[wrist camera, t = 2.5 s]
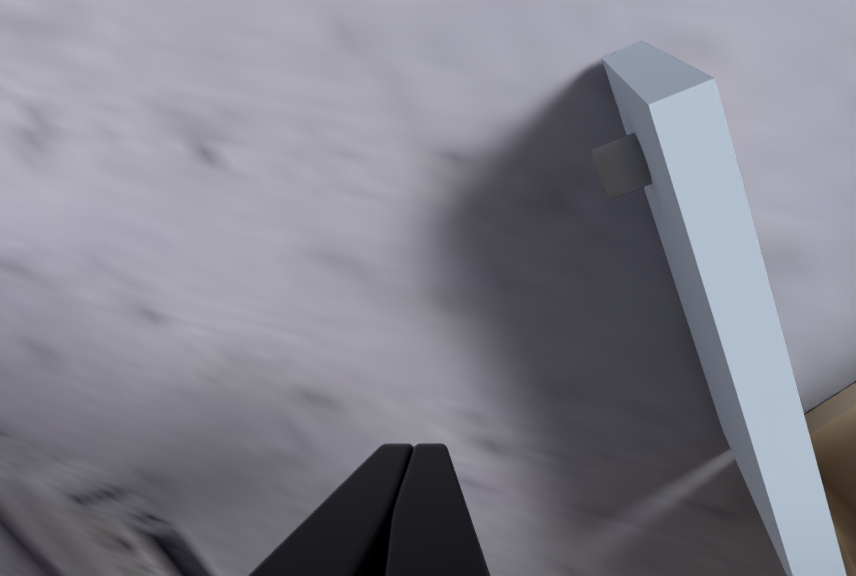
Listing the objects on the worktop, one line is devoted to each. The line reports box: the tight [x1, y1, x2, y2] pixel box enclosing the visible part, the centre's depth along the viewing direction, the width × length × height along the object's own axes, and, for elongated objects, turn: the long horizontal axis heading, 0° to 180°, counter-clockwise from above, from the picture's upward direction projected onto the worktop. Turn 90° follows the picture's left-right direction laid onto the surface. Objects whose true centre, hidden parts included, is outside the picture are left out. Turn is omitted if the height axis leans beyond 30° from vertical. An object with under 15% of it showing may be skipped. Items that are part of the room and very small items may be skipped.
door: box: [590, 41, 847, 576], centre depth 15 cm, size 13×2×7 cm, turn 24°
